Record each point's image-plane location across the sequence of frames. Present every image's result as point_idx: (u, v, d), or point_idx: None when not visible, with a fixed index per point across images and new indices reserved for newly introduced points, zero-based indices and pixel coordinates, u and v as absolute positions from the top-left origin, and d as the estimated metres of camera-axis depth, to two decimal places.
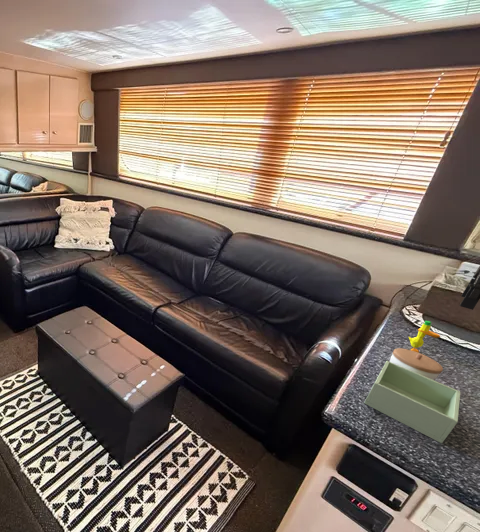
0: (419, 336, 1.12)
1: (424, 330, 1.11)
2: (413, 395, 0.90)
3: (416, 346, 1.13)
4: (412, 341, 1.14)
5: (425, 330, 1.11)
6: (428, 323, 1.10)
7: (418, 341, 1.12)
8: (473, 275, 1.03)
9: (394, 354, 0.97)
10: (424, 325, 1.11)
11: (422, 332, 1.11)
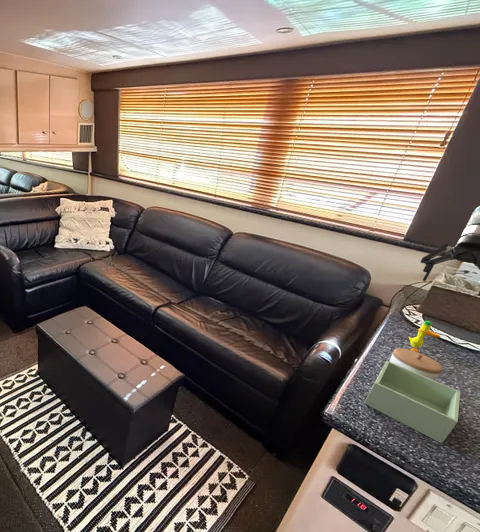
0: (419, 336, 1.12)
1: (424, 330, 1.11)
2: (413, 395, 0.90)
3: (416, 346, 1.13)
4: (412, 341, 1.14)
5: (425, 330, 1.11)
6: (428, 323, 1.10)
7: (418, 341, 1.12)
8: None
9: (394, 354, 0.97)
10: (424, 325, 1.11)
11: (422, 332, 1.11)
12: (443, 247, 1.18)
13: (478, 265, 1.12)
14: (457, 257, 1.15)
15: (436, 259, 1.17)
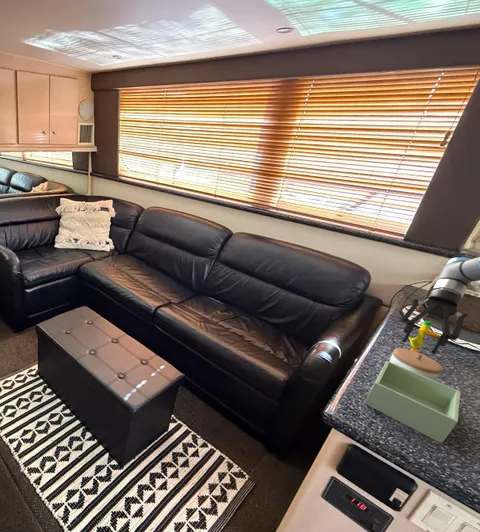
0: (419, 336, 1.12)
1: (424, 330, 1.11)
2: (413, 395, 0.90)
3: (416, 346, 1.13)
4: (412, 341, 1.14)
5: (425, 330, 1.11)
6: (428, 323, 1.10)
7: (418, 341, 1.12)
8: None
9: (394, 354, 0.97)
10: (424, 325, 1.11)
11: (422, 332, 1.11)
12: (415, 303, 1.17)
13: (442, 320, 1.12)
14: None
15: (415, 318, 1.14)
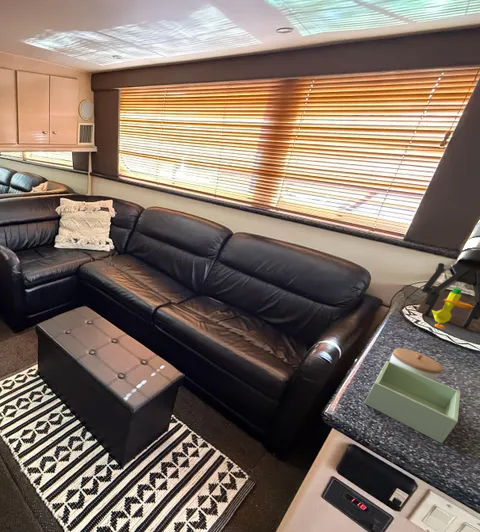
0: (446, 308, 0.89)
1: (452, 300, 0.88)
2: (413, 395, 0.90)
3: (442, 321, 0.90)
4: (436, 315, 0.91)
5: (454, 300, 0.88)
6: (457, 291, 0.87)
7: (444, 314, 0.89)
8: None
9: (394, 354, 0.97)
10: (452, 294, 0.88)
11: (450, 303, 0.88)
12: (440, 268, 0.94)
13: (475, 288, 0.89)
14: None
15: (440, 287, 0.91)
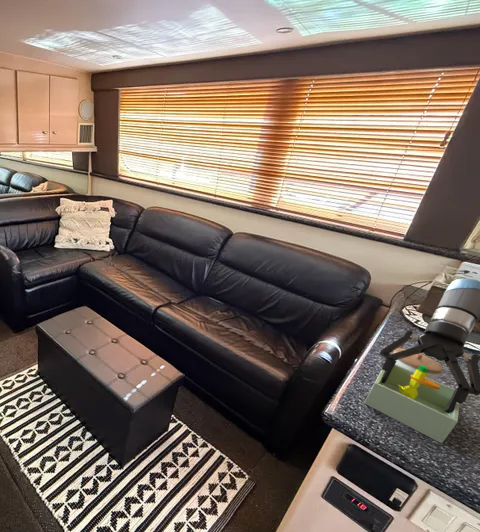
0: (412, 385, 0.84)
1: (418, 378, 0.82)
2: None
3: None
4: (403, 391, 0.85)
5: (420, 378, 0.82)
6: (424, 369, 0.82)
7: (410, 392, 0.84)
8: None
9: None
10: (418, 371, 0.82)
11: (416, 380, 0.83)
12: (406, 336, 0.89)
13: (449, 366, 0.82)
14: (424, 351, 0.86)
15: (398, 354, 0.87)
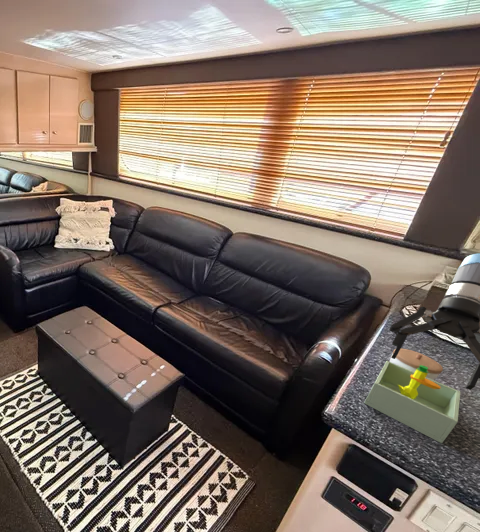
0: (412, 385, 0.84)
1: (418, 378, 0.82)
2: None
3: None
4: (403, 391, 0.85)
5: (420, 378, 0.82)
6: (424, 369, 0.82)
7: (410, 392, 0.84)
8: None
9: None
10: (418, 371, 0.82)
11: (416, 380, 0.83)
12: (419, 312, 0.86)
13: (467, 342, 0.79)
14: (438, 328, 0.83)
15: (410, 329, 0.85)
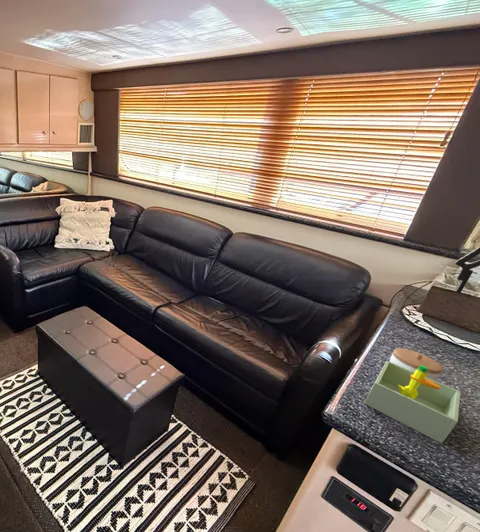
0: (412, 385, 0.84)
1: (418, 378, 0.82)
2: None
3: None
4: (403, 391, 0.85)
5: (420, 378, 0.82)
6: (424, 369, 0.82)
7: (410, 392, 0.84)
8: None
9: (394, 354, 0.97)
10: (418, 371, 0.82)
11: (416, 380, 0.83)
12: None
13: None
14: None
15: (476, 264, 0.85)
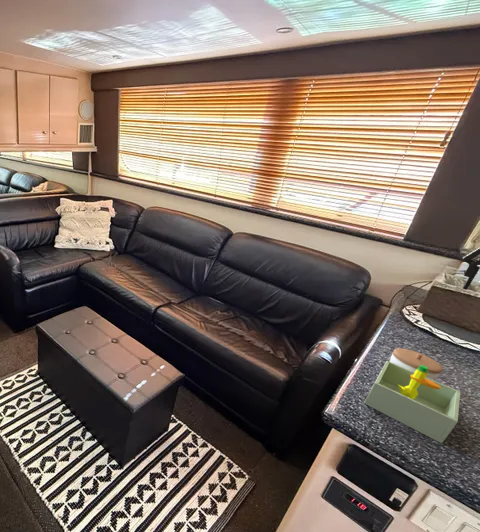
0: (412, 385, 0.84)
1: (418, 378, 0.82)
2: None
3: None
4: (403, 391, 0.85)
5: (420, 378, 0.82)
6: (424, 369, 0.82)
7: (410, 392, 0.84)
8: None
9: (394, 354, 0.97)
10: (418, 371, 0.82)
11: (416, 380, 0.83)
12: None
13: None
14: None
15: None
